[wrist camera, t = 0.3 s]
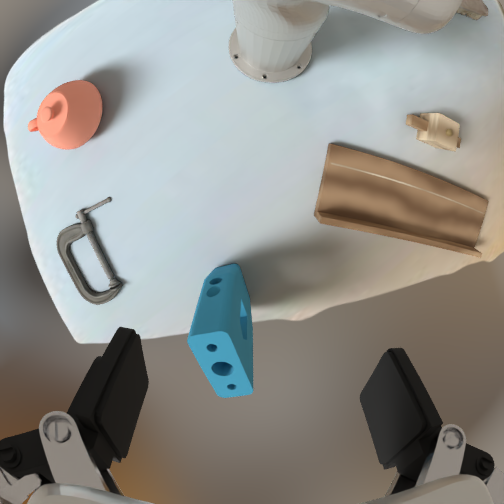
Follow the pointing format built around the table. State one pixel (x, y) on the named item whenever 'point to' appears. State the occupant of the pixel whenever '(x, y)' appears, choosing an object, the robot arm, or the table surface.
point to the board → (397, 202)
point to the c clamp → (78, 232)
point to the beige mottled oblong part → (473, 8)
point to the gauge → (436, 130)
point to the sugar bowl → (69, 115)
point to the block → (224, 332)
